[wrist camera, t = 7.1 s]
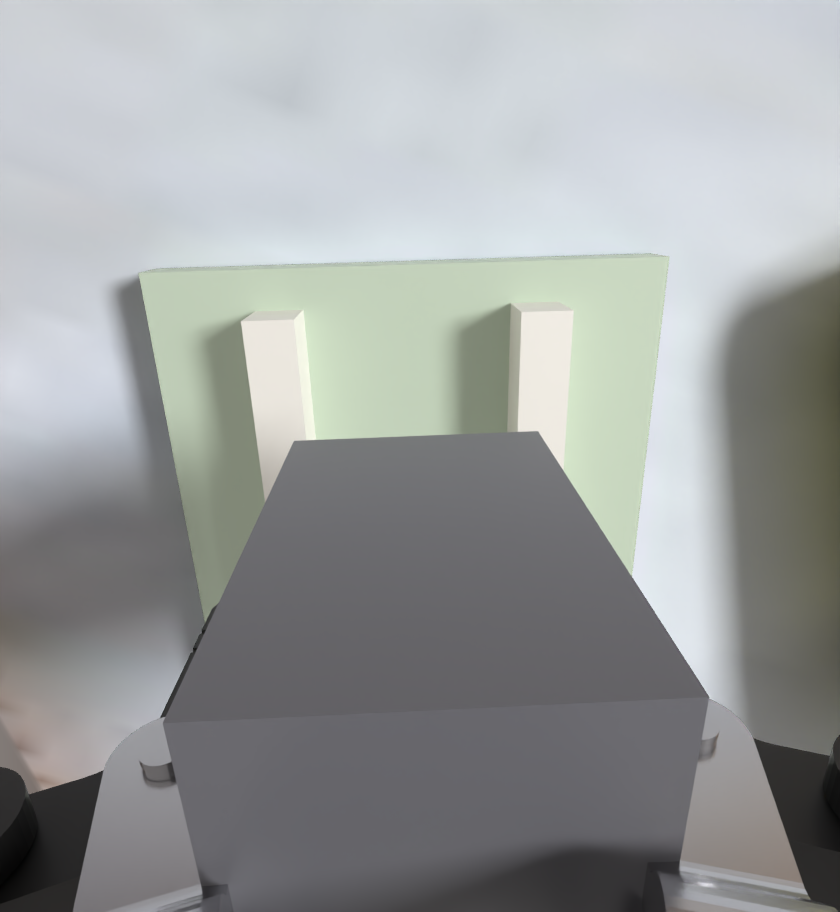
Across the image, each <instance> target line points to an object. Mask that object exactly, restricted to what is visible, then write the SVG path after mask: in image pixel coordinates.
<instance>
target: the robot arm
mask: <svg viewBox="0 0 840 912" xmlns="http://www.w3.org/2000/svg"><path fill="white" fill-rule="evenodd" d="M217 605H218V604H217ZM217 605H216V606H215V607H213V608H212V610H211V612H210V614H209V616H208V618H207V620H206V622H205V624H204V627H203V629H202V634H200V635H199V637H198V639H197V641H196V643H195V645H194V648H193V653H191V654H190V656H189V658H188V660H187V662H186V664H185V667H184V669H183V671H182V673H181V675H180V677H179V679H178V681H177V683H176V685H175V688H174V690H173V692H172V694H171V696H170V698H169V700H168V702H167V704H166V706H165V709H164V711H163V713H162V715H161V717H160V718H159V719H157V720H154V721H152V722H150V723H148V724H146V725H144V726H142V727H140V728H139V729H137V730H136V731H134V732H133V733H131V734H130V735H129V736H128V737H127V738H125V739H124V740H123V741H122V742H121V743H120V744H119V745H118V746H117V747H116V749H115V750H114V751H113V753H112V754H111V755H110V757H109V759H108V761H107V763H106V765H105V768H104V770H103V771H101V772H99V773H96V774H94V775H91V776H88V777H85V778H82V779H79V780H75V781H72V782H69V783H66V784H62V785H59V786H56V787H52V788H49V789H46V790H42V791H39V792H36V793H33V794H28V791H27V788H26V785H25V783H24V781H23V779H22V778H21V776H20V775H19V774H18V773H16V772H15V771H13V770H10V769H8V768H2V767H0V912H234V911H233V906H232V902H231V897H230V892H229V887H228V884H223V885H212V886H201V883H200V879H199V875H198V870H197V866H196V862H195V858H194V854H193V849H192V845H191V841H190V837H189V833H188V828H187V824H186V820H185V816H184V811H183V807H182V803H181V799H180V795H179V790H178V786H177V782H176V778H175V774H174V769H173V765H172V761H171V757H170V753H169V748H168V744H167V740H166V736H165V732H164V727H163V721H164V719H165V717H166V715H167V713H168V711H169V708H170V706H171V704H172V702H173V700H174V698H175V695H176V693H177V691H178V689H179V687H180V685H181V683H182V680H183V678H184V676H185V674H186V672H187V670H188V668H189V665H190V663H191V661H192V659H193V657H194V655H195V652H196V650H197V648H198V646H199V644H200V642H201V640H202V637H203V635H204V633H205V631H206V629H207V627H208V625H209V622H210V620H211V618H212V616H213V614H214V612H215V609H216V607H217ZM642 912H840V735H839V736H838V737H837V738H836V740H835V742H834V745H833V748H832V751H831V755H830V756H827V755H822V754H817V753H812V752H807V751H802V750H797V749H793V748H788V747H783V746H778V745H774V744H770V743H766V742H762V741H760V740H757V739H754V738H753V737H752V735H751V733H750V731H749V730H748V728H747V727H746V725H745V724H744V723H743V722H742V721H741V720H740V719H739V718H738V717H737V716H736V715H735V714H734V713H732V712H731V711H730V710H728V709H727V708H725V707H724V706H722V705H721V704H719V703H717V702H715V701H713V700H711V699H709V702H708V707H707V713H706V718H705V724H704V730H703V735H702V741H701V746H700V752H699V757H698V763H697V769H696V774H695V780H694V785H693V791H692V797H691V802H690V808H689V813H688V819H687V824H686V830H685V836H684V841H683V847H682V852H681V858H680V861H675V862H648V863H647V869H646V876H645V882H644V889H643V896H642Z"/></svg>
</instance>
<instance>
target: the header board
mask: <svg viewBox="0 0 840 912" xmlns="http://www.w3.org/2000/svg"><path fill="white" fill-rule="evenodd" d="M668 264H669V256H663V255H657V254H651V253H649V254H616V255H584V256H551V257H519V258H487V259H454V260H422V261H389V262H357V263H324V264H292V265H259V266H227V267H195V268H162V269H153V270H149V271H145V272H141V273H139V278H140V284H141V289H142V294H143V300H144V305H145V310H146V315H147V321H148V326H149V331H150V336H151V342H152V347H153V352H154V358H155V363H156V368H157V373H158V379H159V384H160V389H161V394H162V400H163V405H164V410H165V416H166V421H167V426H168V431H169V437H170V442H171V447H172V452H173V458H174V463H175V468H176V474H177V479H178V484H179V489H180V495H181V500H182V505H183V510H184V516H185V521H186V526H187V532H188V537H189V542H190V547H191V553H192V558H193V563H194V568H195V574H196V579H197V584H198V590H199V595H200V600H201V605H202V611H203V616H204V621H205V622H206V620H207V618H208V616H209V614H210V612H211V610H212V608H213V607H215V606H216V605H217V604H218V603H219V601H220V599H221V597H222V594H223V592H224V590H225V588H226V586H227V584H228V582H229V579H230V577H231V575H232V573H233V571H234V569H235V566H236V564H237V562H238V560H239V558H240V556H241V554H242V551H243V549H244V547H245V545H246V543H247V541H248V539H249V536H250V534H251V532H252V530H253V528H254V526H255V523H256V521H257V519H258V517H259V515H260V513H261V511H262V508H263V506H264V504H265V502H266V500H267V498H268V496H269V493H270V491H271V489H272V487H273V485H274V483H275V480H276V478H277V476H278V474H279V472H280V470H281V468H282V465H283V463H284V461H285V459H286V457H287V455H288V453H289V450H290V448H291V446H292V444H293V442H294V441H301V440H326V439H352V438H377V437H402V436H427V435H452V434H477V433H503V432H528V431H538V432H539V434H540V435H541V437H542V438H543V440H544V441H545V443H546V444H547V446H548V447H549V449H550V451H551V452H552V454H553V455H554V457H555V458H556V460H557V461H558V463H559V465H560V466H561V468H562V469H563V471H564V472H565V474H566V475H567V477H568V479H569V480H570V482H571V483H572V485H573V486H574V488H575V489H576V491H577V493H578V494H579V496H580V497H581V499H582V500H583V502H584V503H585V505H586V506H587V508H588V510H589V511H590V513H591V514H592V516H593V517H594V519H595V520H596V522H597V524H598V525H599V527H600V528H601V530H602V531H603V533H604V534H605V536H606V538H607V539H608V541H609V542H610V544H611V545H612V547H613V548H614V550H615V551H616V553H617V555H618V556H619V558H620V559H621V561H622V562H623V564H624V565H625V567H626V569H627V570H628V572H629V573H630V575H631V576H632V571H633V562H634V554H635V545H636V537H637V528H638V520H639V511H640V503H641V494H642V486H643V477H644V469H645V460H646V452H647V443H648V435H649V426H650V418H651V409H652V401H653V392H654V384H655V375H656V367H657V358H658V349H659V341H660V332H661V324H662V315H663V307H664V298H665V290H666V281H667V273H668Z"/></svg>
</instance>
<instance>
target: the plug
mask: <svg viewBox="0 0 840 912" xmlns="http://www.w3.org/2000/svg"><path fill="white" fill-rule="evenodd" d="M708 702H709V696H708V694H707V693H706V691H705V690H704V688H703V687H702V685H701V683H700V682H699V680H698V679H697V677H696V676H695V674H694V673H693V671H692V669H691V668H690V666H689V665H688V663H687V662H686V660H685V659H684V657H683V655H682V654H681V652H680V651H679V649H678V648H677V646H676V645H675V643H674V642H673V640H672V638H671V637H670V635H669V634H668V632H667V631H666V629H665V628H664V626H663V624H662V623H661V621H660V620H659V618H658V617H657V615H656V614H655V612H654V610H653V609H652V607H651V606H650V604H649V603H648V601H647V600H646V598H645V597H644V595H643V593H642V592H641V590H640V589H639V587H638V586H637V584H636V583H635V581H634V579H633V578H632V576H631V575H630V573H629V572H628V570H627V569H626V567H625V565H624V564H623V562H622V561H621V559H620V558H619V556H618V555H617V553H616V551H615V550H614V548H613V547H612V545H611V544H610V542H609V541H608V539H607V538H606V536H605V534H604V533H603V531H602V530H601V528H600V527H599V525H598V524H597V522H596V520H595V519H594V517H593V516H592V514H591V513H590V511H589V510H588V508H587V506H586V505H585V503H584V502H583V500H582V499H581V497H580V496H579V494H578V493H577V491H576V489H575V488H574V486H573V485H572V483H571V482H570V480H569V479H568V477H567V475H566V474H565V472H564V471H563V469H562V468H561V466H560V465H559V463H558V461H557V460H556V458H555V457H554V455H553V454H552V452H551V451H550V449H549V447H548V446H547V444H546V443H545V441H544V440H543V438H542V437H541V435H540V434H539V432H538V431H528V432H503V433H477V434H452V435H427V436H402V437H377V438H352V439H326V440H301V441H294V442H293V444H292V446H291V448H290V450H289V453H288V455H287V457H286V459H285V461H284V463H283V465H282V468H281V470H280V472H279V474H278V476H277V478H276V480H275V483H274V485H273V487H272V489H271V491H270V493H269V496H268V498H267V500H266V502H265V504H264V506H263V508H262V511H261V513H260V515H259V517H258V519H257V521H256V523H255V526H254V528H253V530H252V532H251V534H250V536H249V539H248V541H247V543H246V545H245V547H244V549H243V551H242V554H241V556H240V558H239V560H238V562H237V564H236V566H235V569H234V571H233V573H232V575H231V577H230V579H229V582H228V584H227V586H226V588H225V590H224V592H223V594H222V597H221V599H220V601H219V603H218V605H217V607H216V609H215V612H214V614H213V616H212V618H211V620H210V622H209V625H208V627H207V629H206V631H205V633H204V635H203V637H202V640H201V642H200V644H199V646H198V648H197V650H196V652H195V655H194V657H193V659H192V661H191V663H190V665H189V668H188V670H187V672H186V674H185V676H184V678H183V680H182V683H181V685H180V687H179V689H178V691H177V693H176V695H175V698H174V700H173V702H172V704H171V706H170V708H169V711H168V713H167V715H166V717H165V719H164V721H163V727H164V732H165V736H166V740H167V744H168V748H169V753H170V757H171V761H172V765H173V769H174V774H175V778H176V782H177V786H178V790H179V795H180V799H181V803H182V807H183V811H184V816H185V820H186V824H187V828H188V833H189V837H190V841H191V845H192V849H193V854H194V858H195V862H196V866H197V870H198V875H199V879H200V883H201V886H212V885H223V884H228V887H229V892H230V897H231V902H232V906H233V911H234V912H642V896H643V889H644V882H645V876H646V869H647V863H648V862H675V861H680V858H681V852H682V847H683V841H684V836H685V830H686V824H687V819H688V813H689V808H690V802H691V797H692V791H693V785H694V780H695V774H696V769H697V763H698V757H699V752H700V746H701V741H702V735H703V730H704V724H705V718H706V713H707V707H708Z"/></svg>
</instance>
